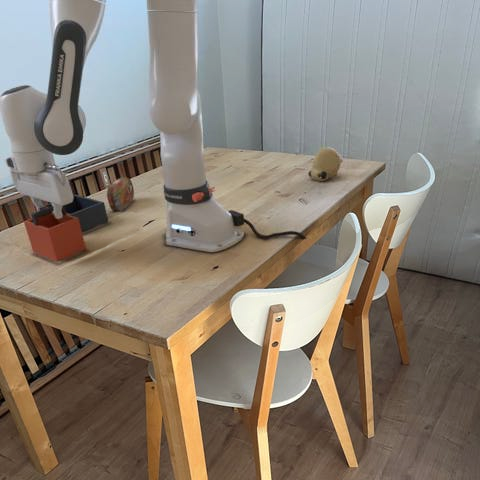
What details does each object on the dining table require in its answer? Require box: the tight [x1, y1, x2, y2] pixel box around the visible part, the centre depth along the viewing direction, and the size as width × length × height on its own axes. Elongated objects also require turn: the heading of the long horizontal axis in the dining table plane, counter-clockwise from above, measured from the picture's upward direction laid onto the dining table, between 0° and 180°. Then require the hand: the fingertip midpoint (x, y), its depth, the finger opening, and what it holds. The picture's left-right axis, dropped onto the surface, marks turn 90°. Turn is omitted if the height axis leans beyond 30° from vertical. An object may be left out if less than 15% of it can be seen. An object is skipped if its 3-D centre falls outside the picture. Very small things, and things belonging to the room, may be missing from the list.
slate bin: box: [44, 194, 109, 233], centre depth 144 cm, size 14×12×7 cm
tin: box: [106, 176, 135, 212], centre depth 156 cm, size 15×3×8 cm, turn 168°
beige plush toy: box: [307, 146, 343, 182], centre depth 169 cm, size 10×12×11 cm
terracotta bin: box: [23, 205, 87, 263], centre depth 127 cm, size 11×9×12 cm
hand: (50, 215), depth 125 cm, fingers open, 6 cm apart
